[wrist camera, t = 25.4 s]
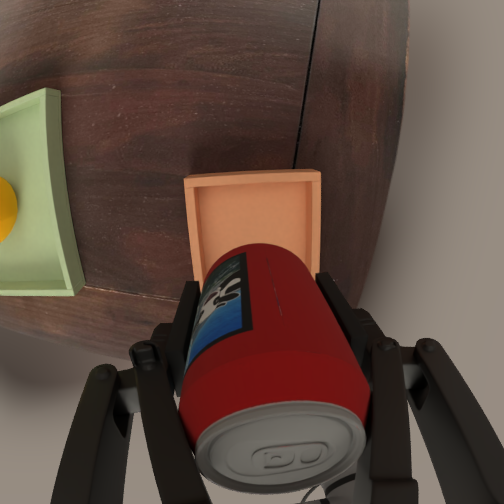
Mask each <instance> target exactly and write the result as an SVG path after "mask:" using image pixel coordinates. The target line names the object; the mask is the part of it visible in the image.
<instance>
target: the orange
mask: <svg viewBox="0 0 504 504" xmlns="http://www.w3.org/2000/svg"><path fill="white" fill-rule="evenodd" d="M17 212H18V207H17V199H16V195H15V192H14V190H13V188H12V186H11V185H10V184H9V183H8V182H7V180H5V179H4V178H2V177H0V243H1V242H2V241H4V239H5V238H6V237H7V236H8V235H9V234H10V233H11V231H12V229H13V227H14V224H15V222H16V219H17Z"/></svg>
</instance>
